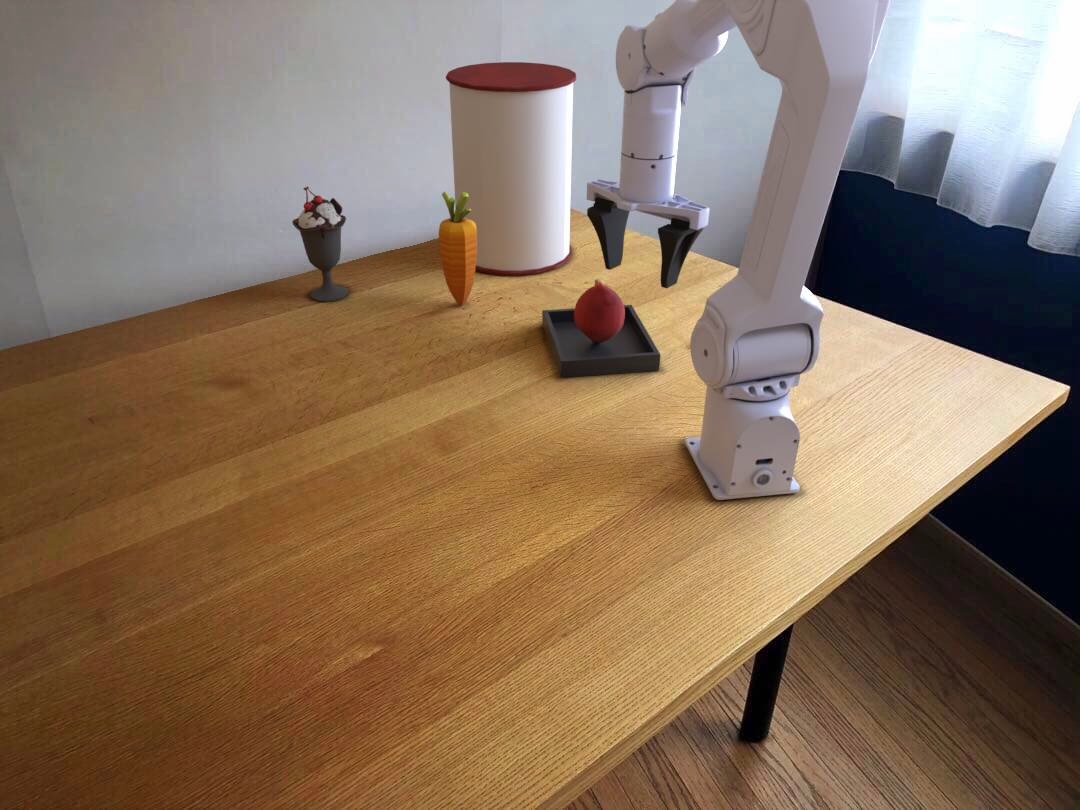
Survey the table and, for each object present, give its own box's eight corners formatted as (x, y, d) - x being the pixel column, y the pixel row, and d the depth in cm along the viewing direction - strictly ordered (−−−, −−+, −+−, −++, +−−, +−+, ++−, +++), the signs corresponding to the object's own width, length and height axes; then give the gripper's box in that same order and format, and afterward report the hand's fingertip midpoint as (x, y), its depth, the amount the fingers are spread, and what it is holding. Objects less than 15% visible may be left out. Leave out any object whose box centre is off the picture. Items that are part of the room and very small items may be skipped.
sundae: (304, 307, 110) (287, 192, 102) (302, 286, 116) (285, 176, 108) (356, 301, 112) (343, 188, 104) (352, 281, 117) (339, 172, 109)
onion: (623, 333, 103) (627, 270, 99) (622, 355, 98) (626, 291, 94) (574, 330, 103) (576, 268, 99) (571, 353, 99) (573, 288, 94)
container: (581, 272, 120) (587, 85, 107) (458, 279, 118) (448, 89, 105) (562, 230, 135) (565, 60, 122) (451, 234, 133) (443, 63, 120)
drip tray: (659, 370, 96) (660, 354, 95) (560, 378, 95) (561, 361, 94) (630, 319, 107) (631, 304, 106) (542, 325, 106) (542, 310, 105)
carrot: (436, 301, 112) (429, 187, 104) (472, 294, 114) (467, 182, 106) (449, 316, 108) (443, 199, 100) (486, 309, 110) (482, 194, 102)
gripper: (569, 147, 90) (567, 268, 97) (686, 174, 82) (674, 305, 89) (611, 134, 94) (605, 251, 102) (725, 159, 86) (711, 285, 93)
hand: (640, 275), depth 96 cm, fingers open, 7 cm apart
